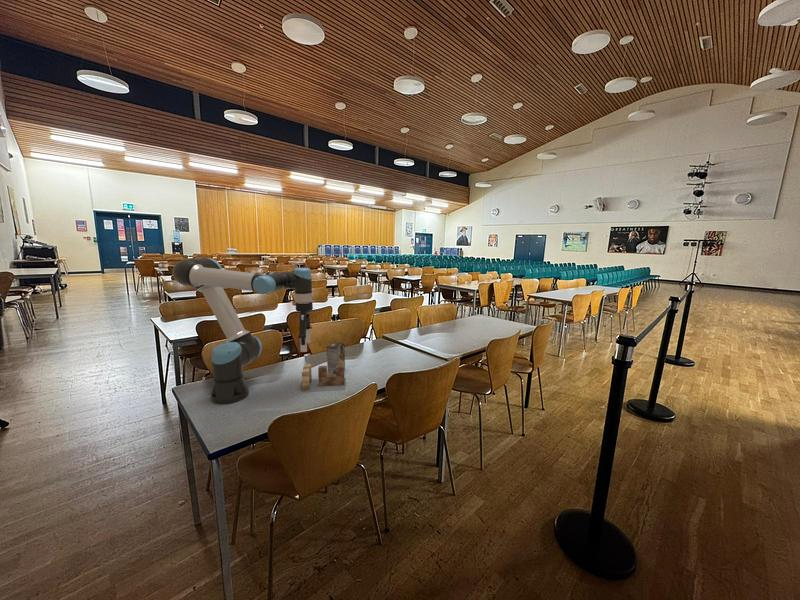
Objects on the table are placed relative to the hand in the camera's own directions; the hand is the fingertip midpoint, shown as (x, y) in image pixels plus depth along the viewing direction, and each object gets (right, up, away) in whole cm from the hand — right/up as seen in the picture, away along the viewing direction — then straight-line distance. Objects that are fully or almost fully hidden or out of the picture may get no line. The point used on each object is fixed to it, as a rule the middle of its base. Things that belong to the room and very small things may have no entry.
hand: (305, 346), depth 155 cm
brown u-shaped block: (+11, -19, +5) cm, 22 cm away
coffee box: (+11, -17, +20) cm, 28 cm away
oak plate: (0, -19, +3) cm, 19 cm away
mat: (+8, -20, +5) cm, 22 cm away
